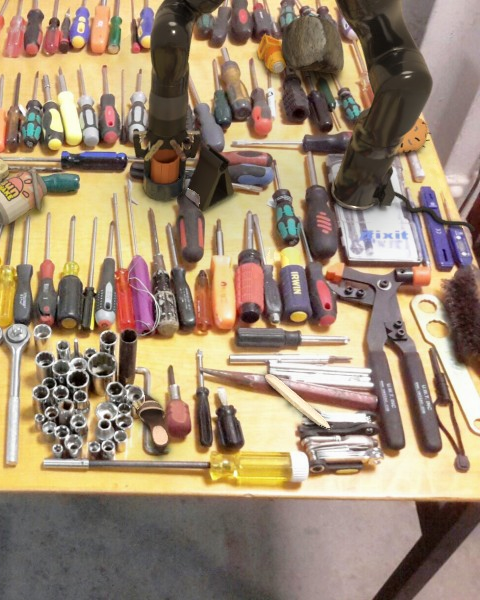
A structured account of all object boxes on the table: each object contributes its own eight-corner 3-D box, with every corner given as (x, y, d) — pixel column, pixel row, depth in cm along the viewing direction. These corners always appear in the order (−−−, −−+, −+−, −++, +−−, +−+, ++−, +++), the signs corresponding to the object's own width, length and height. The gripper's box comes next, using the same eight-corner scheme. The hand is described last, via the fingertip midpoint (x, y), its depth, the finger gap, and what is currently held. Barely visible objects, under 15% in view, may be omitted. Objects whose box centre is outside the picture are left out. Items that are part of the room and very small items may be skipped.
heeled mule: (157, 394, 111) (157, 384, 108) (176, 451, 105) (177, 442, 102) (132, 400, 111) (132, 390, 108) (151, 458, 105) (150, 449, 101)
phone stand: (201, 211, 135) (207, 170, 125) (184, 195, 138) (188, 154, 128) (233, 193, 137) (241, 151, 128) (215, 178, 141) (222, 136, 131)
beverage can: (11, 237, 135) (54, 208, 139) (5, 211, 128) (51, 181, 132) (-14, 212, 139) (28, 185, 143) (-21, 186, 132) (24, 158, 136)
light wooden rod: (326, 435, 105) (328, 431, 103) (261, 379, 111) (263, 374, 110) (332, 429, 105) (334, 425, 104) (267, 374, 112) (269, 369, 111)
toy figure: (264, 77, 158) (256, 51, 166) (284, 80, 159) (276, 55, 166) (272, 57, 154) (264, 32, 161) (293, 61, 155) (284, 35, 162)
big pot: (183, 173, 142) (185, 156, 138) (184, 202, 137) (186, 186, 133) (143, 173, 143) (144, 156, 139) (143, 202, 138) (143, 185, 134)
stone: (270, 31, 154) (299, 32, 164) (288, 88, 155) (316, 86, 165) (316, 3, 145) (344, 6, 155) (336, 64, 145) (362, 63, 155)
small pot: (177, 176, 141) (179, 145, 134) (177, 195, 138) (180, 164, 130) (150, 176, 142) (151, 145, 134) (150, 195, 138) (151, 164, 131)
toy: (415, 116, 145) (424, 102, 140) (434, 151, 141) (445, 137, 137) (364, 129, 145) (372, 115, 140) (383, 164, 141) (392, 151, 136)
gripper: (130, 119, 121) (130, 182, 134) (206, 118, 119) (198, 182, 133) (131, 94, 125) (131, 158, 139) (204, 93, 123) (197, 158, 137)
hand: (164, 170), depth 136 cm, fingers open, 6 cm apart
